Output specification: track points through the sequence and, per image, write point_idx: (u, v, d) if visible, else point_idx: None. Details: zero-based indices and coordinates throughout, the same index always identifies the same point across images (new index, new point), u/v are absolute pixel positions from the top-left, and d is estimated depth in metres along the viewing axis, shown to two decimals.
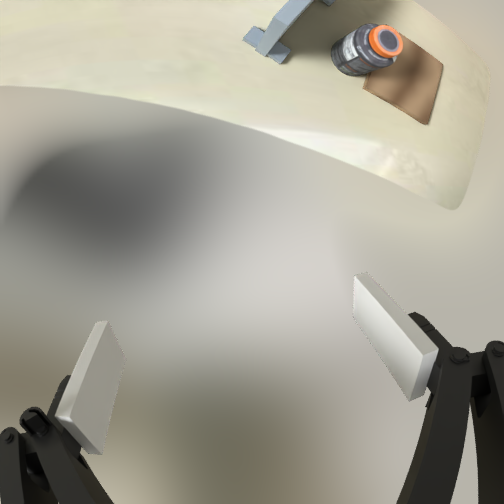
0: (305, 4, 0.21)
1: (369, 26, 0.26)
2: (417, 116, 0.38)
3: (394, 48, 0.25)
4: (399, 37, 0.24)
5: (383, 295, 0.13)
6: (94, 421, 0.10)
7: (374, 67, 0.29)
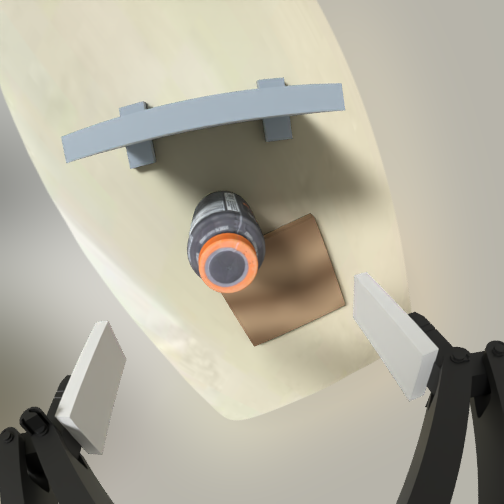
0: (116, 144, 0.15)
1: (235, 223, 0.21)
2: (247, 333, 0.35)
3: (224, 282, 0.20)
4: (251, 274, 0.21)
5: (383, 295, 0.13)
6: (94, 421, 0.10)
7: None
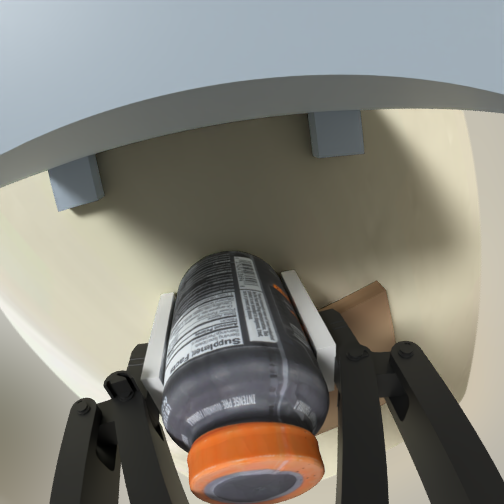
0: None
1: (272, 386, 0.08)
2: None
3: (247, 502, 0.07)
4: (307, 486, 0.07)
5: (300, 291, 0.14)
6: None
7: None
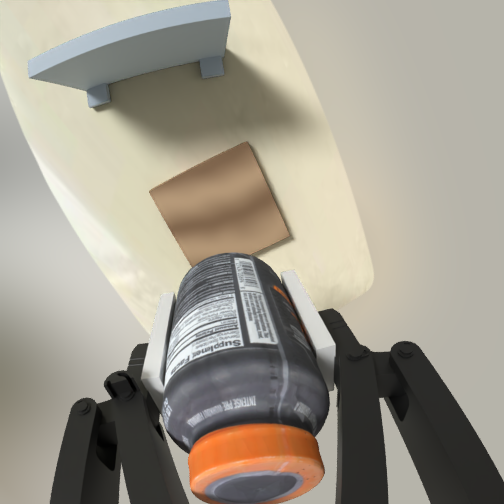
0: (62, 60, 0.16)
1: (273, 388, 0.08)
2: (191, 262, 0.36)
3: (248, 503, 0.07)
4: (308, 487, 0.07)
5: (300, 291, 0.14)
6: None
7: None
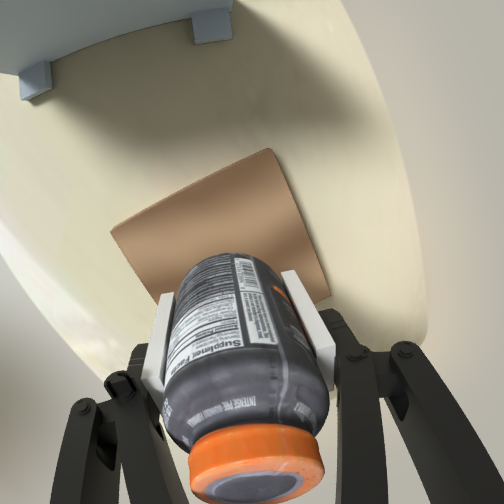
0: None
1: (272, 388, 0.08)
2: None
3: (248, 503, 0.07)
4: (308, 487, 0.07)
5: (300, 291, 0.14)
6: None
7: None
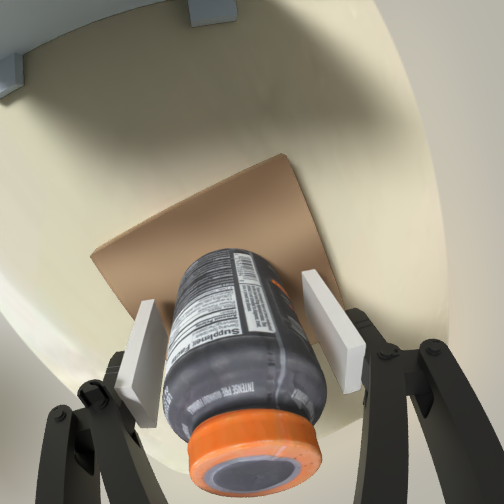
0: None
1: (270, 374, 0.08)
2: None
3: (246, 491, 0.07)
4: (305, 475, 0.07)
5: (324, 291, 0.14)
6: (149, 393, 0.11)
7: None
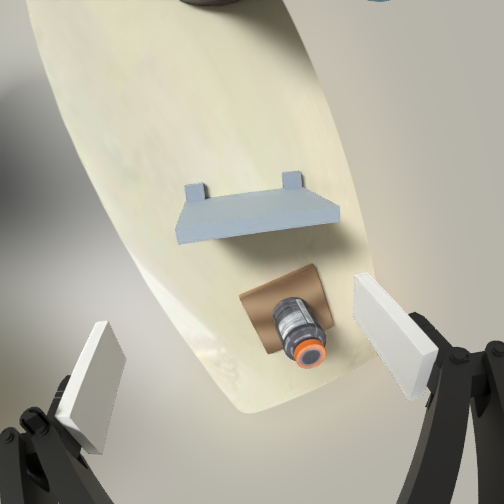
0: (212, 237, 0.29)
1: (314, 332, 0.38)
2: (264, 344, 0.48)
3: (308, 364, 0.37)
4: (322, 359, 0.37)
5: (383, 295, 0.13)
6: (94, 421, 0.10)
7: None
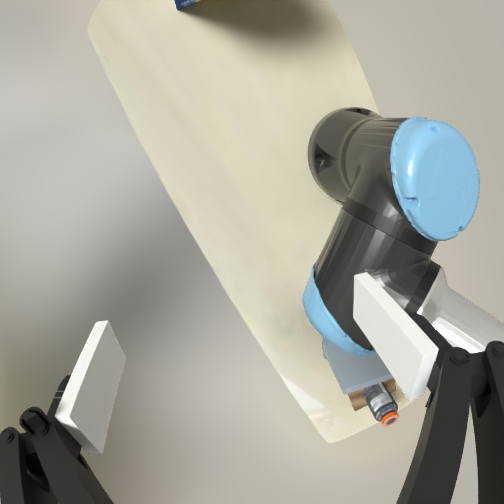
0: (361, 388, 0.46)
1: (393, 407, 0.56)
2: (354, 406, 0.67)
3: (388, 424, 0.55)
4: (396, 420, 0.55)
5: (383, 295, 0.13)
6: (94, 421, 0.10)
7: None
